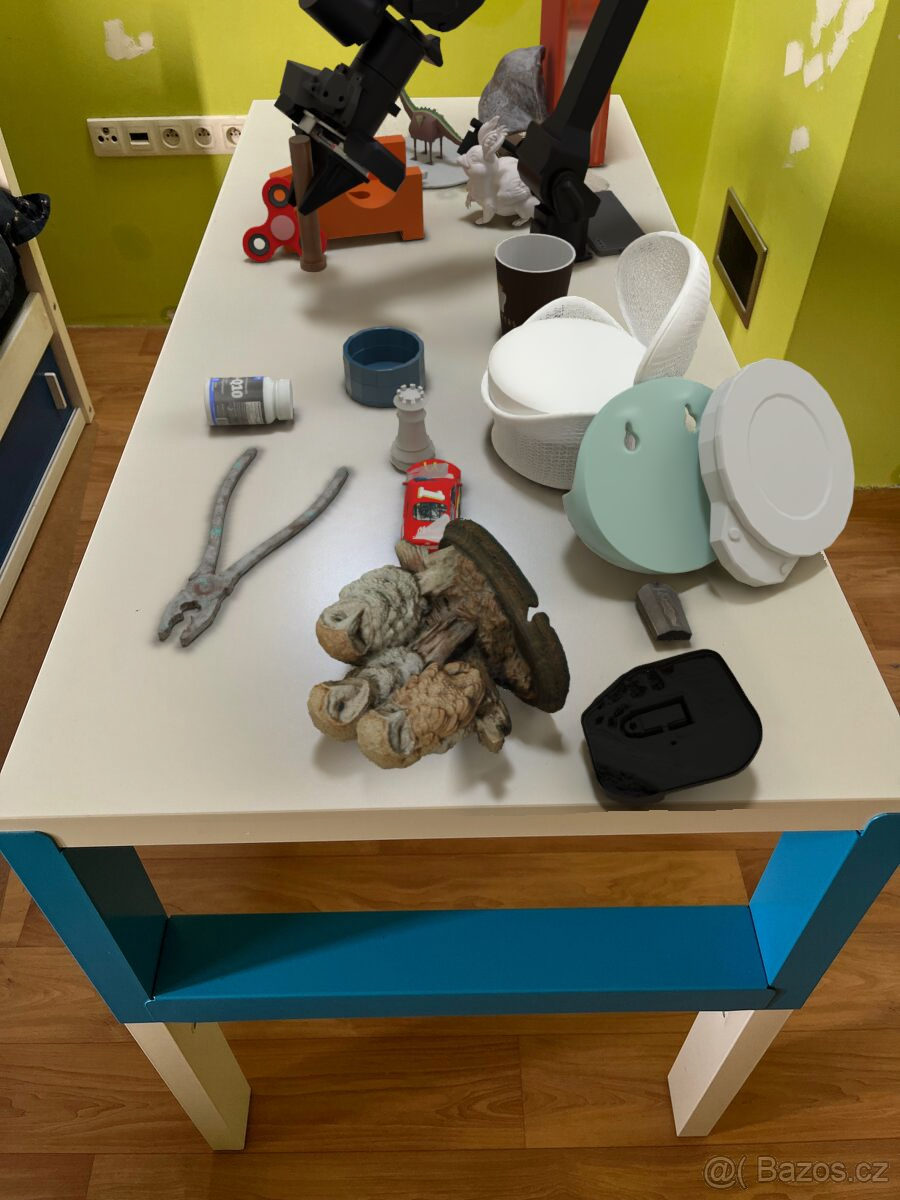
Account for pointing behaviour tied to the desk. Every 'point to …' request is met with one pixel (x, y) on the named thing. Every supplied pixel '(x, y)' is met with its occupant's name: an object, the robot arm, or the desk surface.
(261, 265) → the desk surface
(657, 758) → the black plastic housing
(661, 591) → the block
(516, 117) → the fossil
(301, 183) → the brown rod with base
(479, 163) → the figurine
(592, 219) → the smartphone
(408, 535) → the race car
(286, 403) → the pill bottle
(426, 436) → the rook chess piece
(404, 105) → the dinosaur
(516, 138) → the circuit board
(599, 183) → the stone
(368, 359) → the bowl
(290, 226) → the toy
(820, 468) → the lid
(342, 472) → the pliers
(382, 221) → the tape dispenser
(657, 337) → the chair
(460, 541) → the owl figurine
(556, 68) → the file binder
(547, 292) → the coffee mug
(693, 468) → the planter
